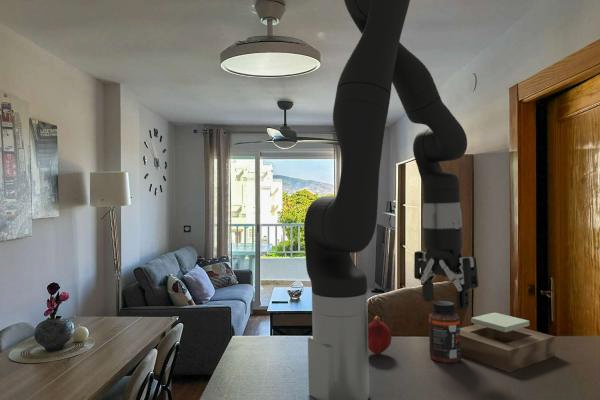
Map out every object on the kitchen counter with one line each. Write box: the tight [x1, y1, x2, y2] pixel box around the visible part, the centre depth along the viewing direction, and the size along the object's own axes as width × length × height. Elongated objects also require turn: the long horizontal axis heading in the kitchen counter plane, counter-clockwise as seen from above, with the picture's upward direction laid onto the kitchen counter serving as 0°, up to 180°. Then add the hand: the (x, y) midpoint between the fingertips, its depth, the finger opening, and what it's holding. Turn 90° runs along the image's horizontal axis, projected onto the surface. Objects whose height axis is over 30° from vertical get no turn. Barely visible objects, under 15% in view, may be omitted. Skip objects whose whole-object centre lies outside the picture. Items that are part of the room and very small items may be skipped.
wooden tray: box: [460, 324, 556, 373], centre depth 88 cm, size 15×14×4 cm
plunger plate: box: [470, 312, 530, 332], centre depth 88 cm, size 8×8×1 cm
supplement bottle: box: [428, 300, 462, 364], centre depth 85 cm, size 6×6×11 cm
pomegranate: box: [368, 315, 392, 356], centre depth 88 cm, size 6×6×8 cm
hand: (444, 305), depth 85 cm, fingers open, 8 cm apart
